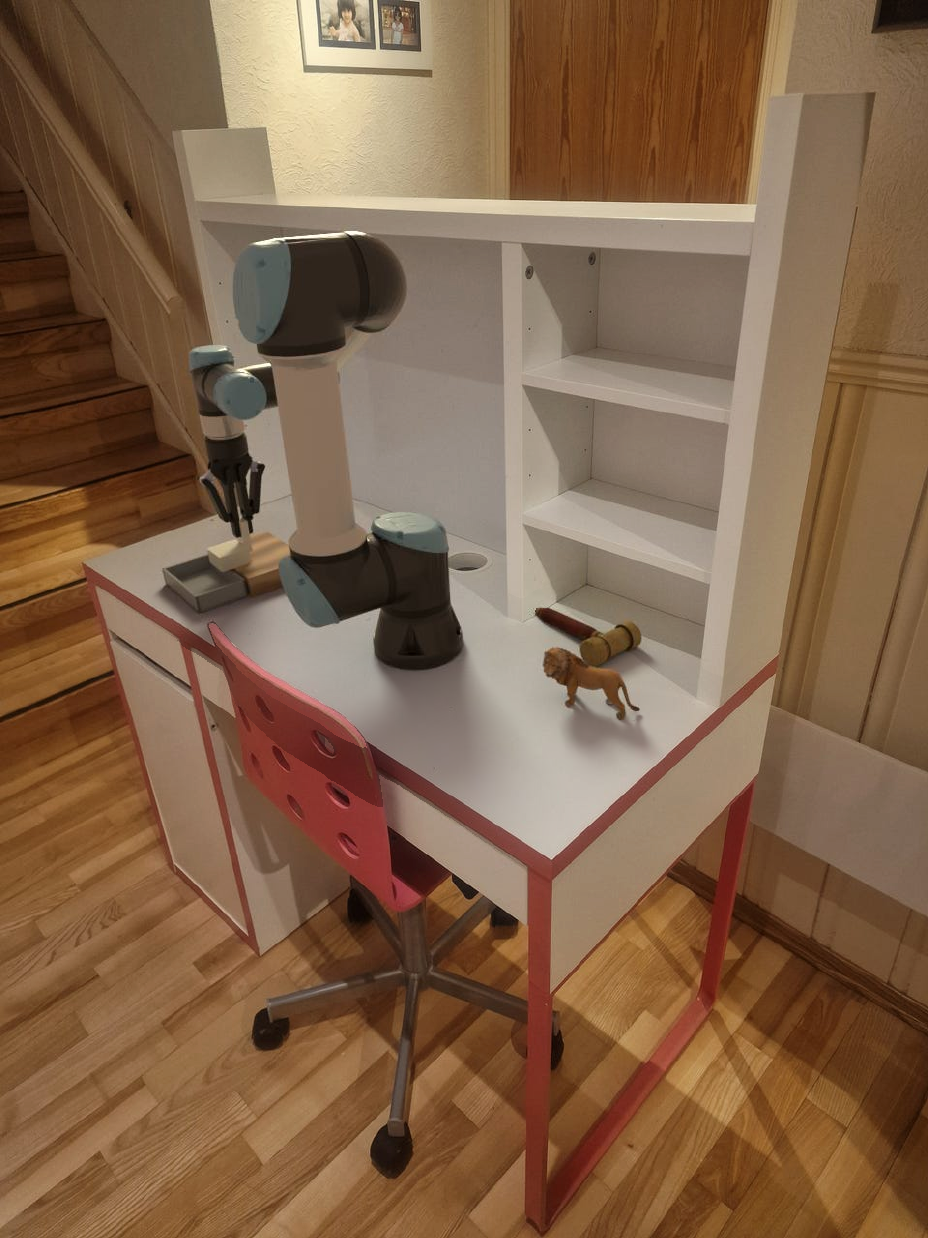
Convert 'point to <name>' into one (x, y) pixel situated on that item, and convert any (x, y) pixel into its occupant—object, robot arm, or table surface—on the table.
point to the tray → (204, 584)
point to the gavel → (594, 636)
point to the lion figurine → (584, 678)
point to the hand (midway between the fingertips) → (246, 549)
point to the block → (228, 555)
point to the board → (263, 563)
